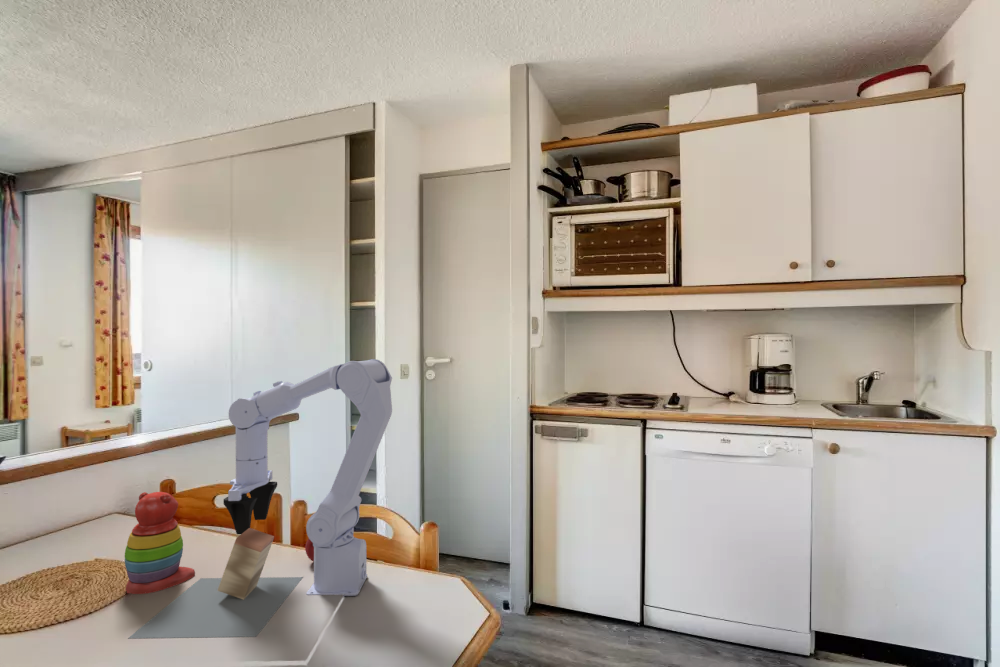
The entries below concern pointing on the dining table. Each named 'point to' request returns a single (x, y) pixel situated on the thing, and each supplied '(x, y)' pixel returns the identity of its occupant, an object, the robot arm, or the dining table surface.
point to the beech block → (245, 563)
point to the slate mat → (218, 611)
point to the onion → (309, 549)
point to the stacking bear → (155, 546)
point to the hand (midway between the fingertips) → (252, 526)
